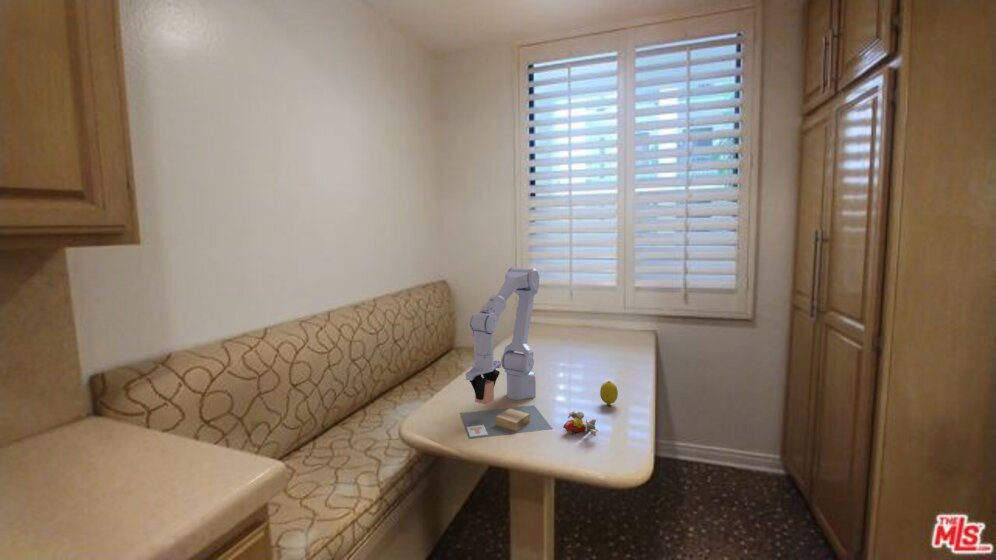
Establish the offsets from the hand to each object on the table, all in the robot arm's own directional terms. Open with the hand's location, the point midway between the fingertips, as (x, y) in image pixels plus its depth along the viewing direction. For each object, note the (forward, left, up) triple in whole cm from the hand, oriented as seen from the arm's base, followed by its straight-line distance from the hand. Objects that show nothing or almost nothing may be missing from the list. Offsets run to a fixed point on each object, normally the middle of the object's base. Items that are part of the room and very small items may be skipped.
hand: (484, 396), depth 132 cm
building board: (-5, +5, -7) cm, 10 cm away
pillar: (0, 0, -1) cm, 1 cm away
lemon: (-41, 0, -7) cm, 42 cm away
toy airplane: (-25, +16, -7) cm, 30 cm away
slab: (-7, +7, -6) cm, 12 cm away
